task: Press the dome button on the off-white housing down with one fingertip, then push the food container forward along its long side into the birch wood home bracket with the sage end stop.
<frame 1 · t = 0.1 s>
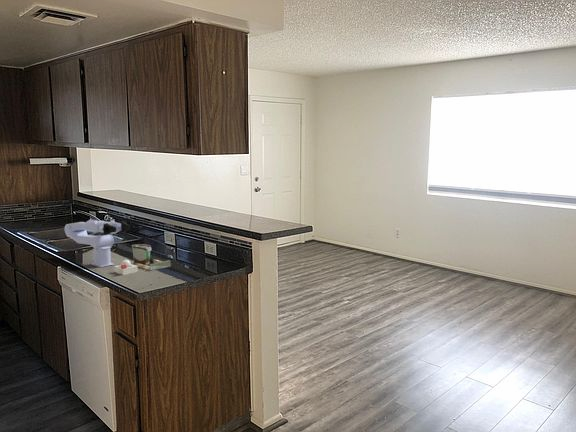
hand: (122, 228, 237), 22 cm above the counter, tool horizontal, fingers open, 7 cm apart
food container: (144, 264, 256), on the counter
dome: (125, 264, 238), point 4 cm above the counter, slide at 0.0 cm
dome housing: (126, 272, 238), on the counter
home bracket: (152, 265, 251), on the counter
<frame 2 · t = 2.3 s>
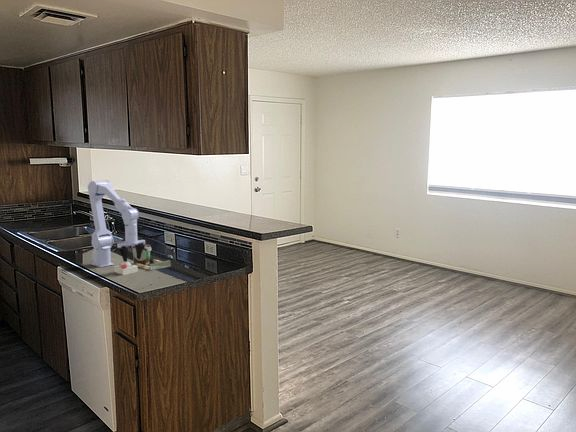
hand: (132, 259, 240), 6 cm above the counter, tool pointing down, fingers open, 7 cm apart
dome: (125, 265, 238), point 3 cm above the counter, slide at 0.6 cm, touching gripper
everything else where it was.
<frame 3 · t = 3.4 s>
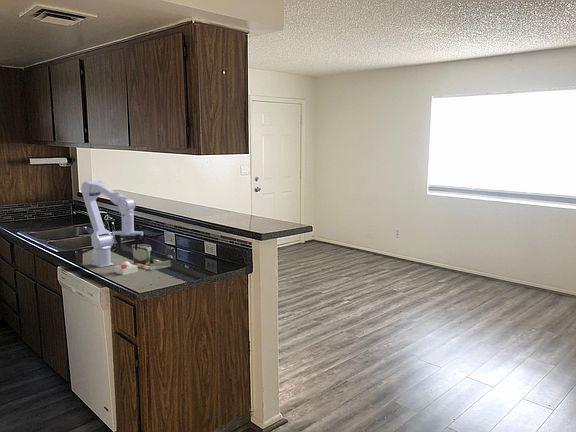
hand: (128, 249, 242), 10 cm above the counter, tool pointing down, fingers open, 7 cm apart
dome: (125, 266, 238), point 3 cm above the counter, slide at 0.8 cm
everything else where it was.
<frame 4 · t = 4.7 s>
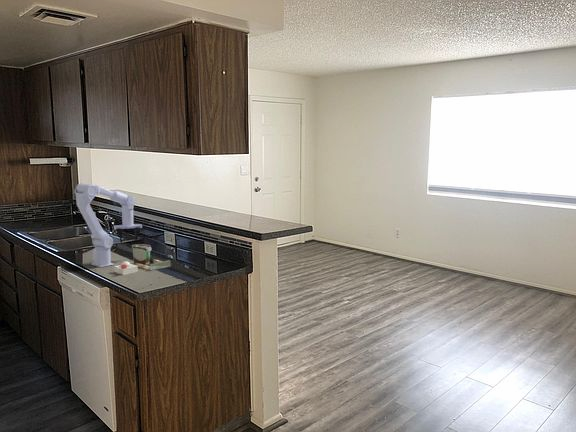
hand: (128, 241, 263), 10 cm above the counter, tool pointing down, fingers open, 7 cm apart
nothing on the counter moved.
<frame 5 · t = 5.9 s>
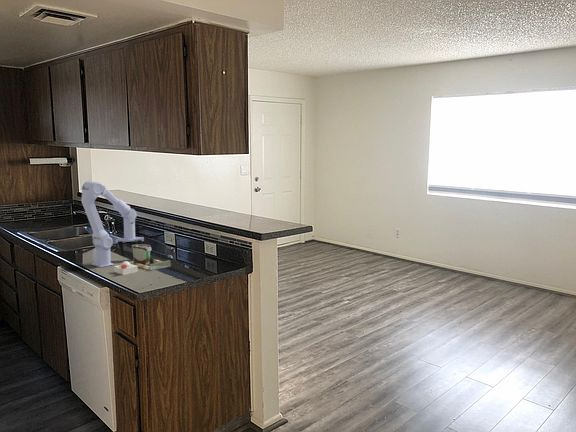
hand: (130, 254, 264), 3 cm above the counter, tool pointing down, fingers open, 7 cm apart
nothing on the counter moved.
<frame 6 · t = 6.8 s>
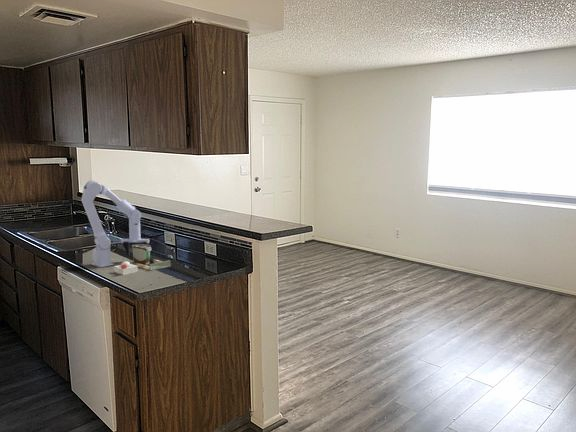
hand: (135, 255, 260), 3 cm above the counter, tool pointing down, fingers open, 7 cm apart
food container: (144, 264, 255), on the counter, touching gripper
everything else where it was.
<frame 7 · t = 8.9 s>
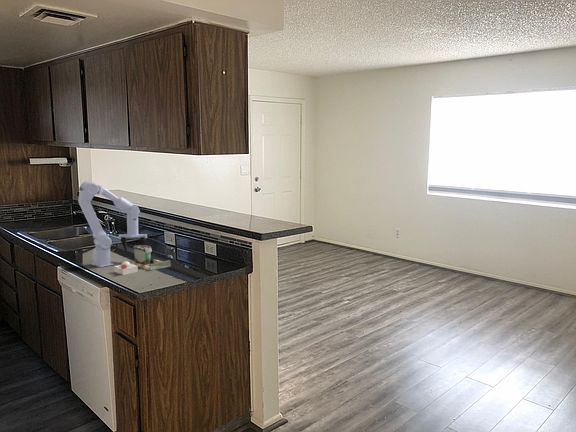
hand: (133, 251, 261), 5 cm above the counter, tool pointing down, fingers open, 7 cm apart
food container: (145, 265, 252), on the counter
everything else where it was.
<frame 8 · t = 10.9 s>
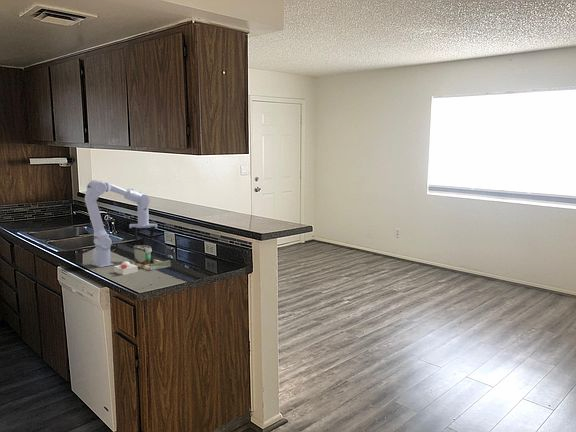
hand: (143, 240, 264), 10 cm above the counter, tool pointing down, fingers open, 7 cm apart
nothing on the counter moved.
at the end: dome slide at 0.8 cm; food container inside the target area (3.4 cm from its centre), on the counter; food container tilted 0° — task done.
